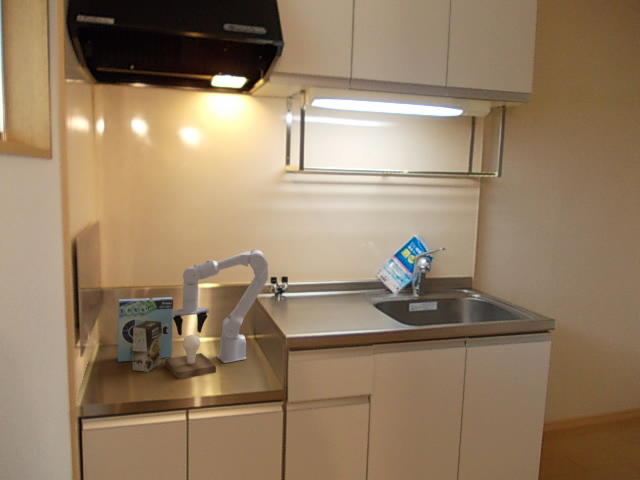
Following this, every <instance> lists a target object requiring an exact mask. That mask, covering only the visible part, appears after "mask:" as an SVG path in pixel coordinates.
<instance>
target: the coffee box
mask: <svg viewBox="0 0 640 480" xmlns="http://www.w3.org/2000/svg"><path fill="white" fill-rule="evenodd" d="M161 359H162V358H161V322H156V321H144V322H143V323H141V324H139V325H137V326H135V327H133V361H132V370H133V371H138V372H144V373H149V372H150V371H152V370H153V369H154V368H156V367H158V366H159V365H160V364H161V363H162V362H161Z"/></svg>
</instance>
